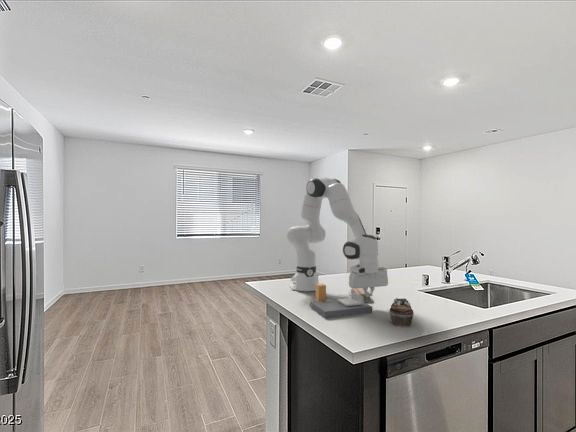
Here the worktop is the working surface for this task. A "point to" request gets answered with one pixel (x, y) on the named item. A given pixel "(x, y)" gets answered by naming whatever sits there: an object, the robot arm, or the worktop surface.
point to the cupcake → (401, 313)
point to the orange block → (320, 292)
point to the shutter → (352, 300)
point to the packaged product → (362, 293)
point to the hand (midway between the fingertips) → (368, 296)
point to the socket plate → (339, 309)
